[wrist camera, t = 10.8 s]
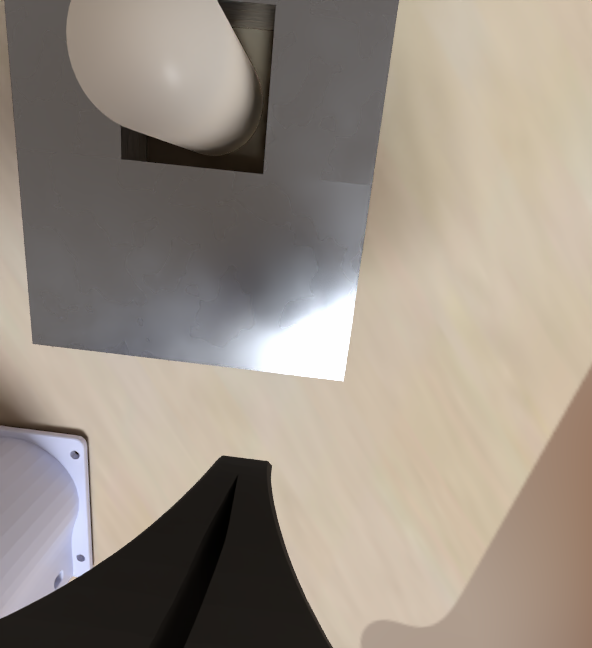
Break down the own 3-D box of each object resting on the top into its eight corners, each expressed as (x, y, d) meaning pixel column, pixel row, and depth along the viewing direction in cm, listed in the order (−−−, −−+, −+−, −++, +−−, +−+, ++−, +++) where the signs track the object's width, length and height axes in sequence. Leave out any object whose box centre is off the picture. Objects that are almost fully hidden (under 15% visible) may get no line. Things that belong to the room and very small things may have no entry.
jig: (341, 360, 21) (343, 380, 19) (65, 327, 22) (32, 343, 19) (404, -88, 16) (419, -138, 14) (38, -119, 16) (-10, -173, 14)
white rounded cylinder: (255, 163, 19) (218, 144, 12) (157, 147, 19) (66, 119, 12) (269, 50, 18) (235, -40, 11) (164, 33, 18) (66, -67, 11)
